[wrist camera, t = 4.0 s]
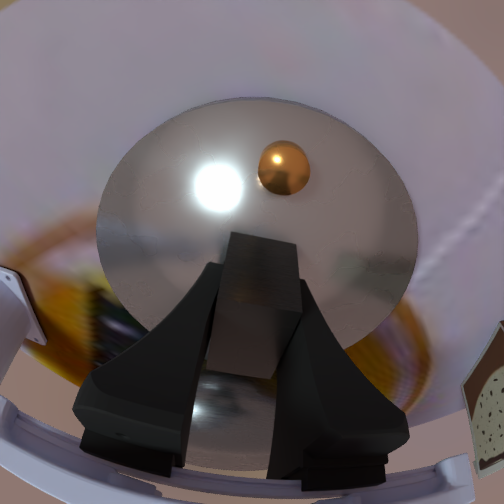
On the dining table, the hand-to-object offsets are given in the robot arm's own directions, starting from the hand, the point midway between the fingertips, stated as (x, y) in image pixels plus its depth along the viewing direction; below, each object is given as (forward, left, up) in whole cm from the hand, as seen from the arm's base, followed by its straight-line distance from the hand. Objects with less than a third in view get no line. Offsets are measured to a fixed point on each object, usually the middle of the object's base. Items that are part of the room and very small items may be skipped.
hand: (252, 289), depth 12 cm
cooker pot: (0, -14, -2) cm, 14 cm away
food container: (+23, -5, -2) cm, 24 cm away
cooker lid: (0, 0, -2) cm, 2 cm away
